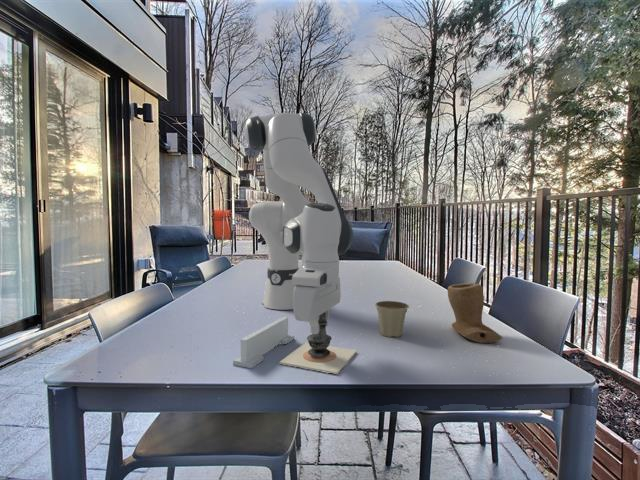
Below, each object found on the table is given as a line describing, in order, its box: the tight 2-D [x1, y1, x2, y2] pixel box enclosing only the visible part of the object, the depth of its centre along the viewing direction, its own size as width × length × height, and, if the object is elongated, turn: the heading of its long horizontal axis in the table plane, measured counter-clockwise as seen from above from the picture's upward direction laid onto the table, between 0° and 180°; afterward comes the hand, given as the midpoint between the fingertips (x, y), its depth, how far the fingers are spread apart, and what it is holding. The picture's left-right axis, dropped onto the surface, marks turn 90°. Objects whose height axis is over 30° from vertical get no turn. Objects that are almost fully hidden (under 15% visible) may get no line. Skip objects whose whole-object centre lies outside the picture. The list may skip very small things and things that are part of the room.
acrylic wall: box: [232, 316, 295, 370], centre depth 91 cm, size 21×5×6 cm, turn 157°
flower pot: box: [375, 300, 410, 338], centre depth 105 cm, size 9×9×9 cm
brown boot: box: [447, 282, 503, 344], centre depth 104 cm, size 15×12×15 cm
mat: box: [279, 341, 357, 375], centre depth 87 cm, size 14×14×1 cm
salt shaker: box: [306, 312, 332, 357], centre depth 86 cm, size 6×6×12 cm
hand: (319, 330), depth 86 cm, fingers closed on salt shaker, 3 cm apart
